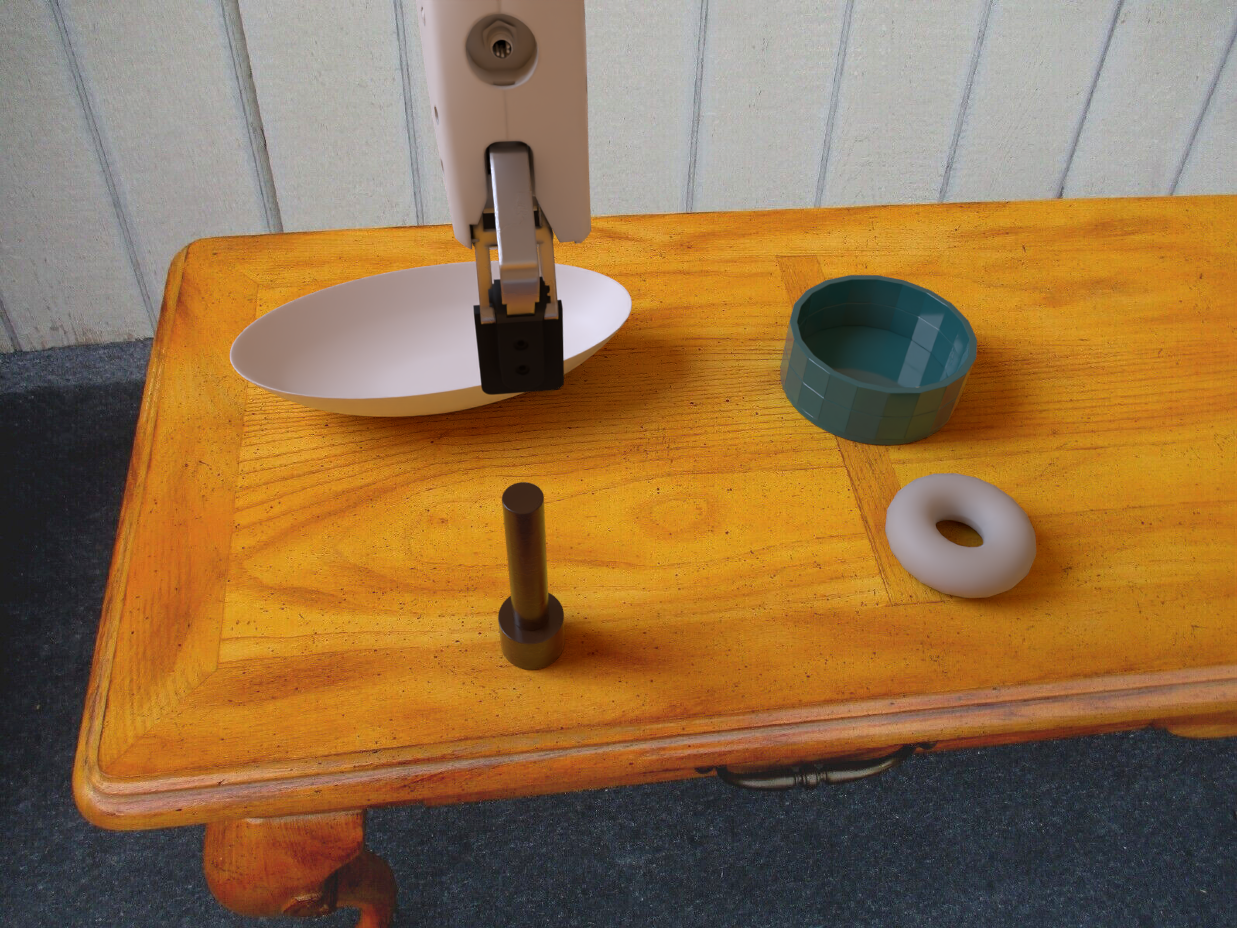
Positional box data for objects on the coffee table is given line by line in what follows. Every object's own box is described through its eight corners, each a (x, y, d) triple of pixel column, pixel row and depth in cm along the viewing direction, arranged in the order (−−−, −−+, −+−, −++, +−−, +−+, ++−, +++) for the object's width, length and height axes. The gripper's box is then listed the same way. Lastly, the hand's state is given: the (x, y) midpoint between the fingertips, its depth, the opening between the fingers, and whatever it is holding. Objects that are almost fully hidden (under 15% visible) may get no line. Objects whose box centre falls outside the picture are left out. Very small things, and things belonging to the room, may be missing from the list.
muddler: (577, 647, 60) (576, 503, 50) (524, 681, 58) (512, 539, 48) (540, 605, 62) (532, 458, 52) (488, 636, 60) (469, 491, 50)
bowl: (603, 300, 84) (605, 241, 79) (653, 415, 74) (658, 356, 70) (249, 353, 78) (229, 293, 73) (253, 487, 68) (230, 426, 64)
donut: (850, 527, 67) (950, 631, 61) (859, 495, 65) (965, 600, 59) (954, 477, 71) (1058, 571, 65) (967, 444, 68) (1077, 538, 62)
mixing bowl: (992, 395, 77) (1015, 342, 73) (874, 473, 71) (892, 420, 67) (860, 306, 84) (874, 254, 80) (743, 370, 78) (752, 317, 74)
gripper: (659, -45, 23) (631, 448, 35) (578, -223, 34) (579, 196, 47) (338, -37, 22) (426, 465, 34) (365, -223, 34) (424, 204, 46)
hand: (514, 310), depth 41 cm, fingers open, 9 cm apart
